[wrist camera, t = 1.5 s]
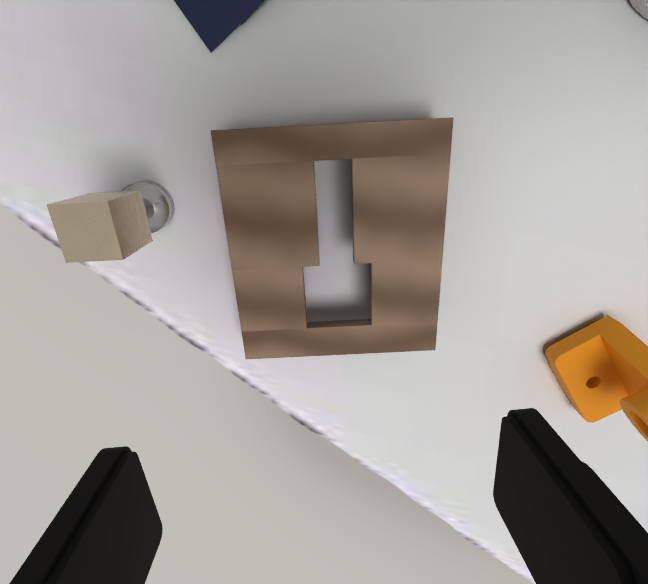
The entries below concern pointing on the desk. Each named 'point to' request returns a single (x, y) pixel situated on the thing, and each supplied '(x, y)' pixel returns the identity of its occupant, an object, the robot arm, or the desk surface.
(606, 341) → the bracket
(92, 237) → the peg
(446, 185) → the keyhole board
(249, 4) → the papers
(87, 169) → the desk surface
